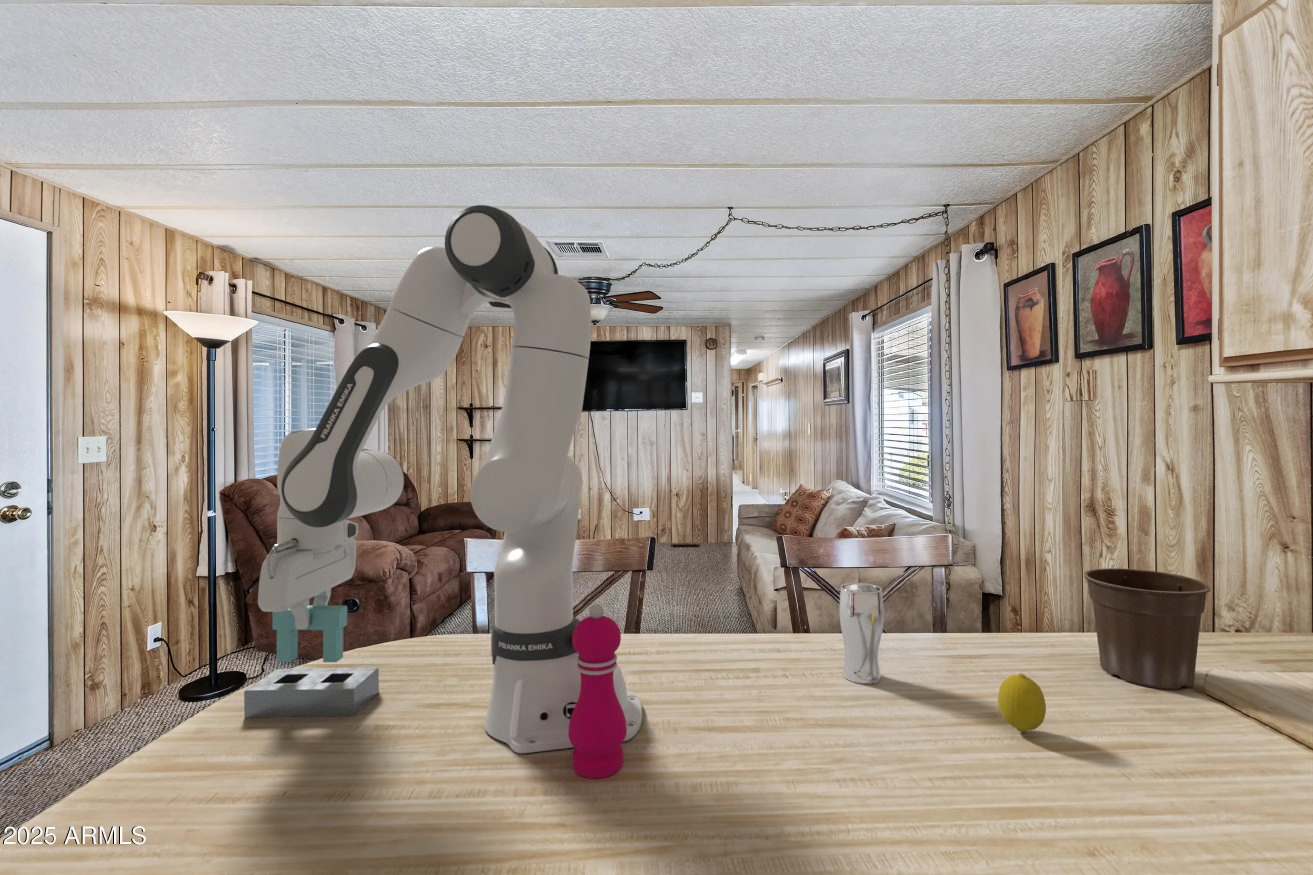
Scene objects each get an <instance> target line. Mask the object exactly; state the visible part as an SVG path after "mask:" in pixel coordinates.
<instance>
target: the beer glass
mask: <svg viewBox="0 0 1313 875" xmlns="http://www.w3.org/2000/svg"><path fill="white" fill-rule="evenodd" d="M883 599H884V598H883V588H881V586H879V585H876V584H872V583H866V582H847V583H843V584H841V585H840V593H839V624H840V630H841V636H842V639H843V640H842V642H843V646H844V664H843V668H842V676H843V677H844V679H846V680H847V679H848V681H849V680H850V681H849V682H852V683H855V682H856V684H862V685H872V683H874V684H877V683H879V682H880V681H881V680H882V675H881V674H882V673H881V669H880V663H879V651H880V644H881V641H882V633H883V629H884V628H883V626H884V600H883ZM878 681H879V682H878ZM876 682H877V683H876Z"/></svg>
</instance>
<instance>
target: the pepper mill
mask: <svg viewBox="0 0 1313 875" xmlns="http://www.w3.org/2000/svg"><path fill="white" fill-rule="evenodd" d="M588 613H589V616H586V617H584V618H582V619H581V620H580V622H579V623H578V624H577V625H576V627H575V629H574V632H573V636H572V642H573V647H574V649H575V650H576V652H577V653H578V654H579V655H578V657H577V662H578V664H577V670H578V671H579V672H580V675H581V690H580V695H579V698H578V701H577V704H576V706H575V708H574V710H573V713H572V715H571V719H570V722H569V732H568V735H569V739H570V742H571V743H572V745H573V746H574V747H573V748H574V749H573V750H572V767H573V770H574V772H575V773H576V774H578V775H579V776H581V777H584V778H588V779H601V778H604V779H605V778H608V777H611V776H613V775H615V774H617V773H618V772H619V771H620V770H621V769H622V767H623V765H624V748H623V746H622V745H621V744H623V742H624V741H623V740H624V738H625V736H626V733H627V727H626V719H625V716H624V712H623V710H622V707H621V705H620V703H619V701H618V698H617V696H616V693H615V689H614V682H613V673H614V670H615V669H616V667H617V665H618V663H617V660H618V655H617V654H616V651H617V650H618V649H619V647H620V645H621V641H622V636H621V635H622V634H621V630H620V627H619V625H618V624H617V623H616V621H615V620H614V619H612V618H610V617H608V616H605V615H604V608H603V606H602V605H601V604H597V603H594V604H593V605H591V606H590V608H589V610H588Z"/></svg>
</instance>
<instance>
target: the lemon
mask: <svg viewBox="0 0 1313 875" xmlns="http://www.w3.org/2000/svg"><path fill="white" fill-rule="evenodd" d="M997 703H998V708H999V711H1000V714H1001V716H1002V717H1003V719H1004V720H1005V721H1006V723H1008V725H1010V726H1012V727H1013V728H1015V729H1016V730H1017V731H1018V732H1019V731H1020V732H1025V733H1027V732H1028V731H1033V730H1035V729H1038V728H1039V727H1040V726H1042V724H1043V722H1044V721H1045V720H1044V719H1045V717H1046V714H1047V713H1046V711H1047V707H1046V706H1047V705H1046V699H1045V696H1044V693H1043V691H1042V689H1041V687H1040V686H1039V685H1038V683H1036V682H1035V681H1034V680H1033V679H1031V678H1029V677H1028V676H1026V675H1025V674H1024V673H1018V674H1015V675H1010V676H1009V677H1007V678H1005V679H1004V680H1003V681H1002V682H1001V684H1000V686H999V690H998V696H997ZM1020 732H1019V733H1020Z"/></svg>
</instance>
